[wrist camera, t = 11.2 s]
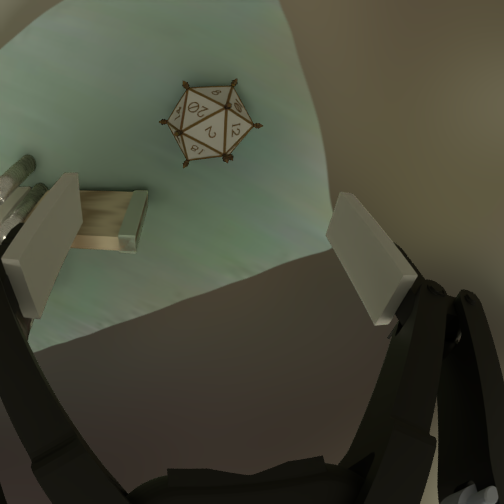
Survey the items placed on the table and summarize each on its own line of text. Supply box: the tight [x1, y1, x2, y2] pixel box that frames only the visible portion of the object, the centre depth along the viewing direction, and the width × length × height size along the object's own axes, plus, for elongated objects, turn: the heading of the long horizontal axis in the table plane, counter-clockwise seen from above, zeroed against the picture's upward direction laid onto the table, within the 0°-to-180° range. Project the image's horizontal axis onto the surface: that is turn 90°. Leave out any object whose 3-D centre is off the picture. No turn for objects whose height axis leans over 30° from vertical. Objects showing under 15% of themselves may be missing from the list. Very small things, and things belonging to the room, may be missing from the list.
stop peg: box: [0, 155, 36, 205], centre depth 27 cm, size 2×2×8 cm
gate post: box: [0, 183, 48, 245], centre depth 28 cm, size 2×2×10 cm
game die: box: [159, 79, 263, 168], centre depth 28 cm, size 9×8×10 cm
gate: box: [23, 190, 148, 253], centre depth 30 cm, size 13×2×9 cm, turn 80°
